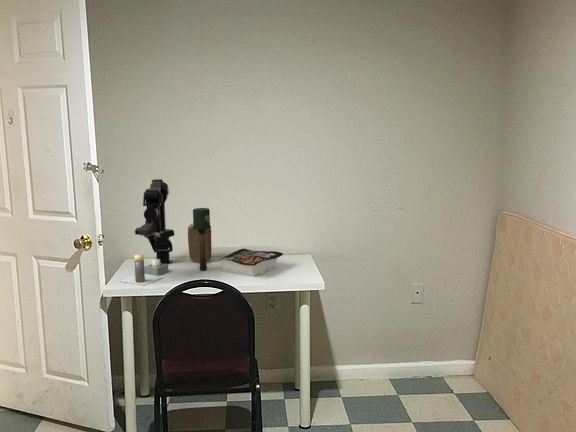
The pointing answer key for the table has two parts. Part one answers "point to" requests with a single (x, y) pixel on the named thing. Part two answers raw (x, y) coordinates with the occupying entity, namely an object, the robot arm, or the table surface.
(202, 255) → the potato masher grenade
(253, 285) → the table surface
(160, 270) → the button housing
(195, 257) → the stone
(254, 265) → the food packaging
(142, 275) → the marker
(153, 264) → the button cap
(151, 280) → the worksheet
